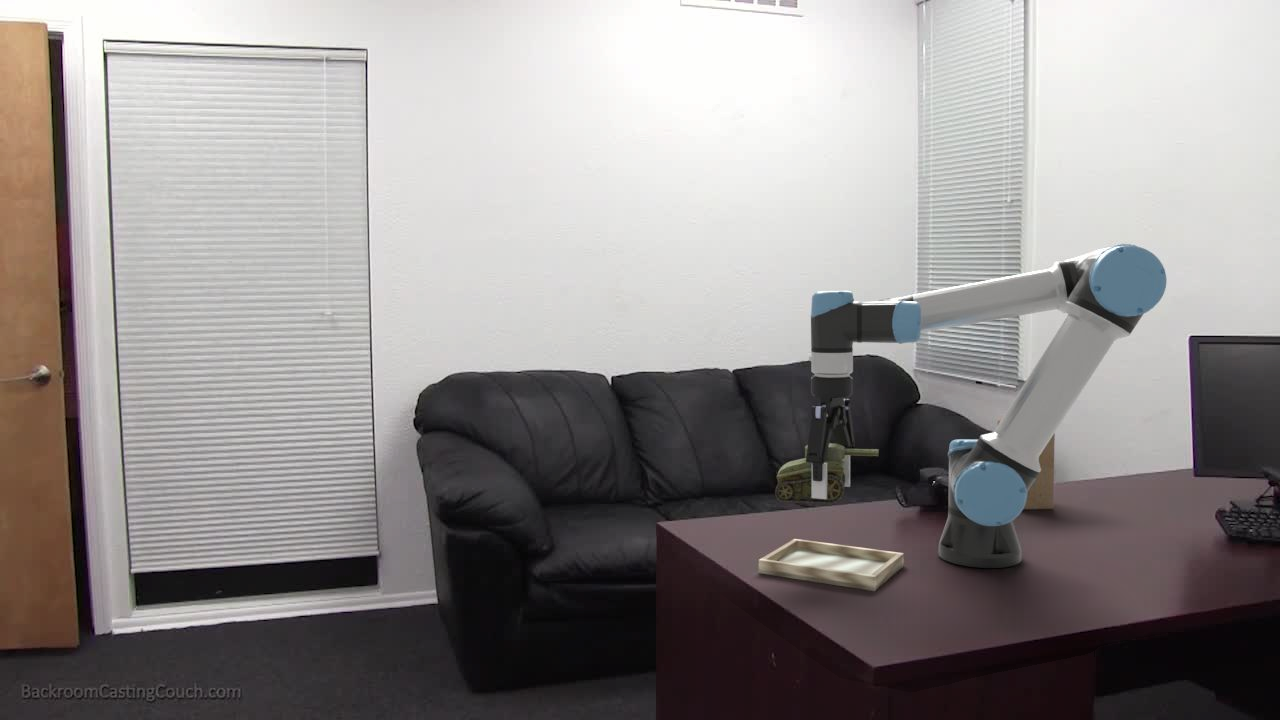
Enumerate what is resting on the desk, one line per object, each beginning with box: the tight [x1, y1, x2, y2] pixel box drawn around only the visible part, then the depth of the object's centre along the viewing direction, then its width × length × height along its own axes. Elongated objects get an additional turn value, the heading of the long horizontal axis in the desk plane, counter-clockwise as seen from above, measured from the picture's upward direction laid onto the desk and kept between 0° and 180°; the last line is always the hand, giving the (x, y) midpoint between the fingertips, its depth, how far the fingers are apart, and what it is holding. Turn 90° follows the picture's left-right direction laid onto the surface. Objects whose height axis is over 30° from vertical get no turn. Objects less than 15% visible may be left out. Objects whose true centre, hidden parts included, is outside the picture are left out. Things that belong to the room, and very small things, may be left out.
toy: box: [774, 442, 880, 505], centre depth 183 cm, size 10×18×10 cm, turn 77°
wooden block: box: [997, 418, 1056, 511], centre depth 233 cm, size 10×10×20 cm
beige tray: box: [758, 538, 905, 592], centre depth 185 cm, size 22×17×2 cm
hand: (831, 492), depth 183 cm, fingers closed on toy, 11 cm apart
